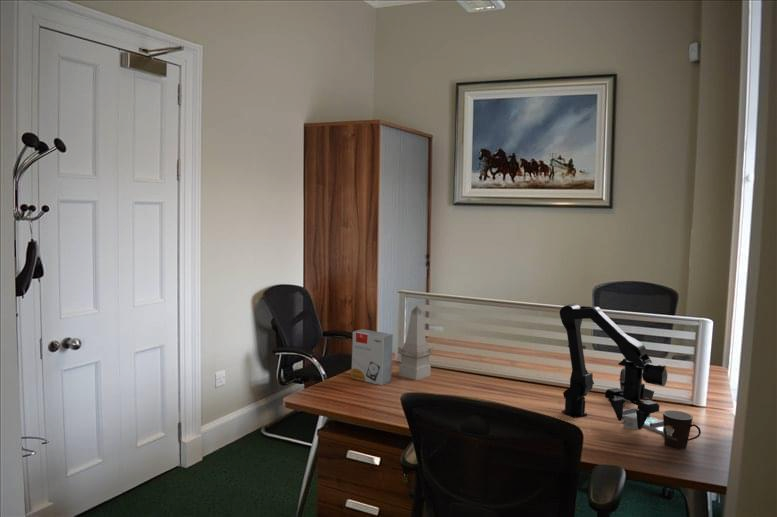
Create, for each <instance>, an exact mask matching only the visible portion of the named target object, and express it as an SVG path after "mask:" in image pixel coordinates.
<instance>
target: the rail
mask: <svg viewBox="0 0 777 517" xmlns="http://www.w3.org/2000/svg"><path fill="white" fill-rule="evenodd" d="M637 410H639V409H638V407H631V408H625V409H624V408H623V414H622V419H624V416H626V415H630V414H636V411H637ZM643 428H646V429H648V430H651V431H653V432H655V433H658V434H661V435H662V436H664V423H663V419H662V420H660V419H657V418H655V417H652V416H651V414H650V415H649V416H648V417H647V419H646V421H645V423H644V425H643Z"/></svg>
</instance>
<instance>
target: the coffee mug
mask: <svg viewBox="0 0 777 517" xmlns="http://www.w3.org/2000/svg"><path fill="white" fill-rule="evenodd" d="M662 417H663V418H662V420H663V423H664V435H663V437H664V442H663V443H664V445H665V446H666V447H667V448H670V449H673V450H685V449H687V446H688V443H689V441H692V440H696V439H698V438H699V437H700V436H701V434H702V432H701V428H700V427H699V426H698V425H697V424H694V423H693V418H694V416H693V415H692V414H690V413H688V412H685V411H681V410H674V409H668V410H664V411H663V412H662ZM692 427H695V428H696V429H697V431H698V434H697V435H696V436H695V437H690V432H691V428H692Z"/></svg>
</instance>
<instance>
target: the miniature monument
mask: <svg viewBox="0 0 777 517" xmlns="http://www.w3.org/2000/svg"><path fill="white" fill-rule="evenodd" d="M407 327H408V328H407V333H406V338H405V339H406V340H405V342H404V343H403V345H402V347H399V346H398V347H397V350H398V351H397V353H398V354H399V355H401V360H400V364H399V365H398V376H400V377H405V378H407V379H411V380H415V381H418V380H421V379H424V378H427V377H429V376H431V372H432V371H431V369H432V367H431V366H432V365H431V364H430V355H432V354H434V347H429V346H428V343H427V339H426V332H425V325H424V316H423V310H422V309H420V307H419V306H415V307H414V308H413V309H412V310H411V311H410V317H409V323H408V326H407Z"/></svg>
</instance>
